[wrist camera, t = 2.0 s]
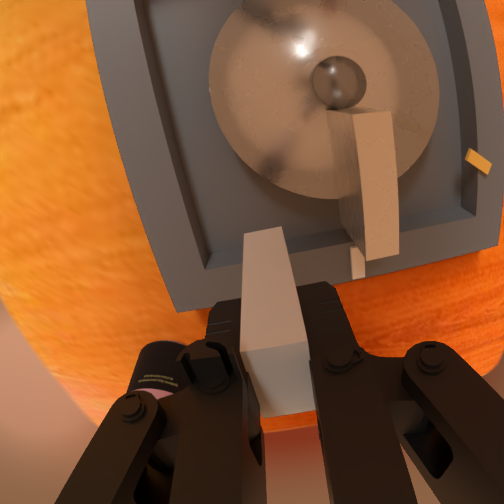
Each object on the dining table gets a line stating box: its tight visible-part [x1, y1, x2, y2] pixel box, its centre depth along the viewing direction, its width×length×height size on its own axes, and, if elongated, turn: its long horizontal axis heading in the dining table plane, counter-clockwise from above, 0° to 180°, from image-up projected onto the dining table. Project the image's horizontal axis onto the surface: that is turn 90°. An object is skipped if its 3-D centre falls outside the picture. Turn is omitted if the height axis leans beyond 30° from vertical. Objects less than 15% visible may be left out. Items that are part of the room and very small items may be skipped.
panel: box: [86, 0, 504, 313], centre depth 17 cm, size 26×26×4 cm
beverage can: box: [127, 340, 188, 399], centre depth 23 cm, size 6×7×15 cm
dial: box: [209, 0, 440, 261], centre depth 15 cm, size 16×14×7 cm
